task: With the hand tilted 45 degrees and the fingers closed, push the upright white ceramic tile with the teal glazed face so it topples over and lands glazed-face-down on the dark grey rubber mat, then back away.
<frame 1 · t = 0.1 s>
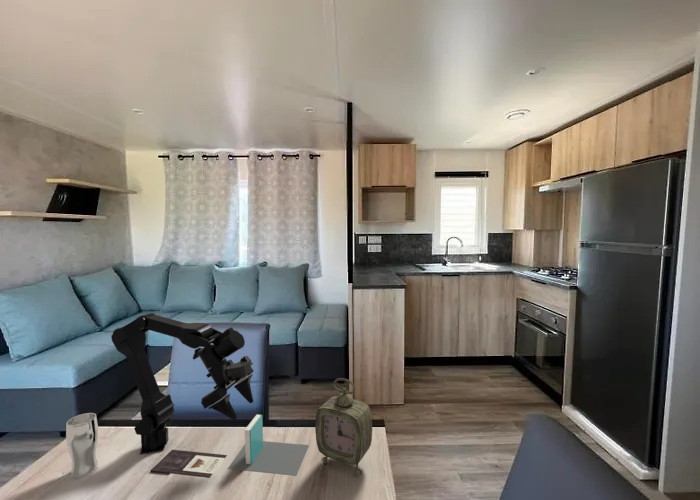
hand: (244, 410, 97), 15 cm above the table, tool tilted 35°, fingers open, 9 cm apart
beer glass: (84, 471, 95), on the table
mat: (270, 457, 99), on the table
tabletop clock: (345, 463, 96), on the table
chocolate bar: (189, 466, 97), on the table
tile: (254, 454, 100), resting on mat
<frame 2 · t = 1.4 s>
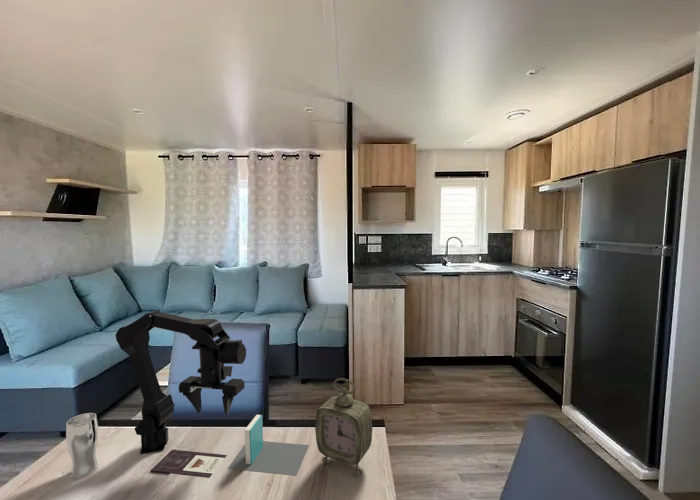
hand: (213, 413, 101), 12 cm above the table, tool pointing down, fingers open, 9 cm apart
nothing on the table moved.
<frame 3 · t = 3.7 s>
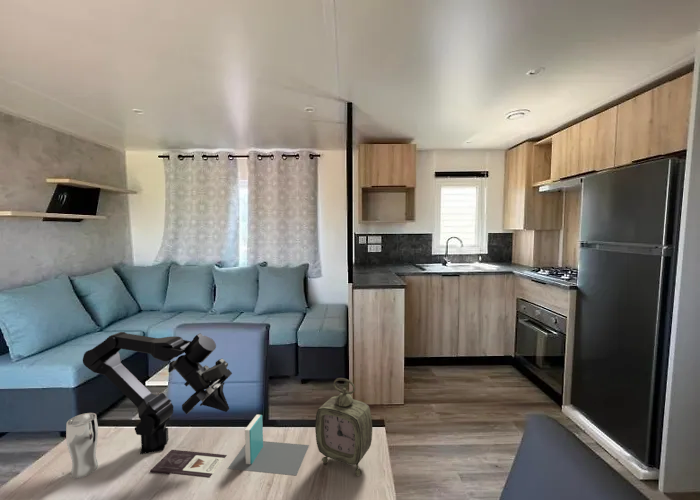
hand: (227, 410, 100), 13 cm above the table, tool tilted 45°, fingers closed
nothing on the table moved.
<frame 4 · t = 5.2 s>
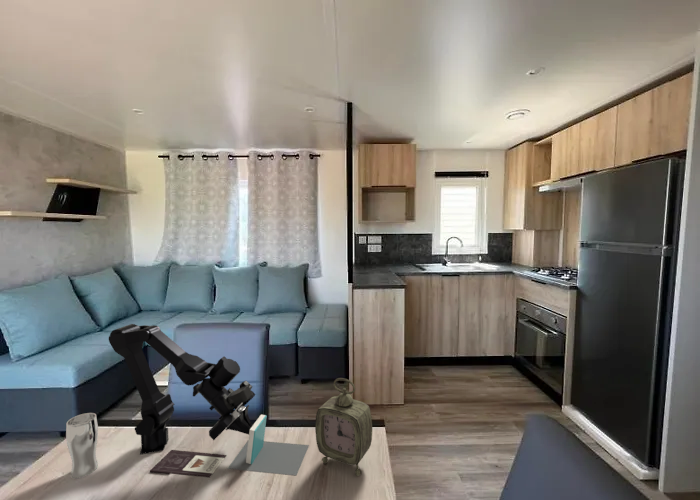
hand: (253, 433, 99), 7 cm above the table, tool tilted 45°, fingers closed
tile: (254, 454, 100), point 1 cm above the table, tilted 8°, touching mat
everything else where it was.
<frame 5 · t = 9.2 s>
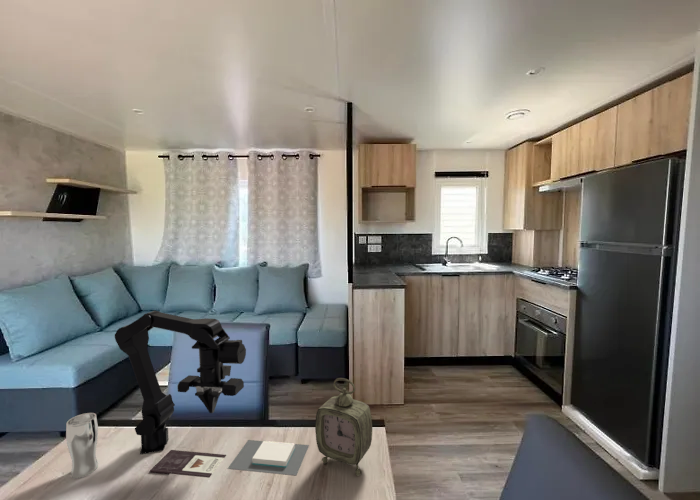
hand: (212, 412, 102), 12 cm above the table, tool pointing down, fingers closed
tile: (258, 452, 100), point 1 cm above the table, tilted 90°, touching mat
everything else where it was.
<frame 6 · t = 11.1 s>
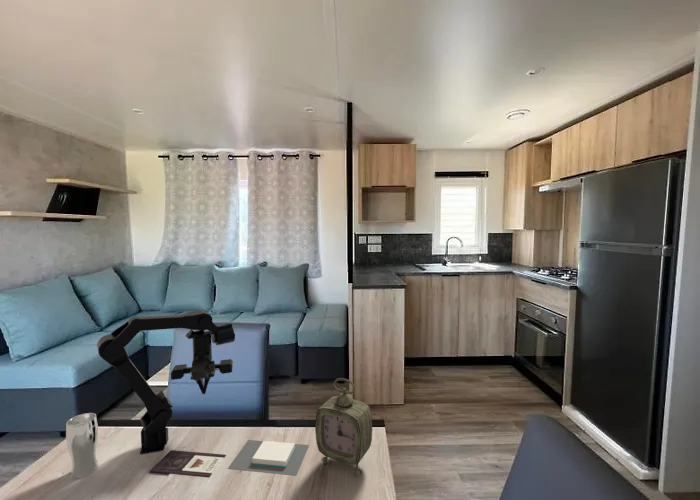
hand: (204, 393, 114), 12 cm above the table, tool pointing down, fingers closed
nothing on the table moved.
at the end: tile tilted 90°; tile inside the target area (6.5 cm from its centre), point 1.3 cm above the table; the gripper is holding nothing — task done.
